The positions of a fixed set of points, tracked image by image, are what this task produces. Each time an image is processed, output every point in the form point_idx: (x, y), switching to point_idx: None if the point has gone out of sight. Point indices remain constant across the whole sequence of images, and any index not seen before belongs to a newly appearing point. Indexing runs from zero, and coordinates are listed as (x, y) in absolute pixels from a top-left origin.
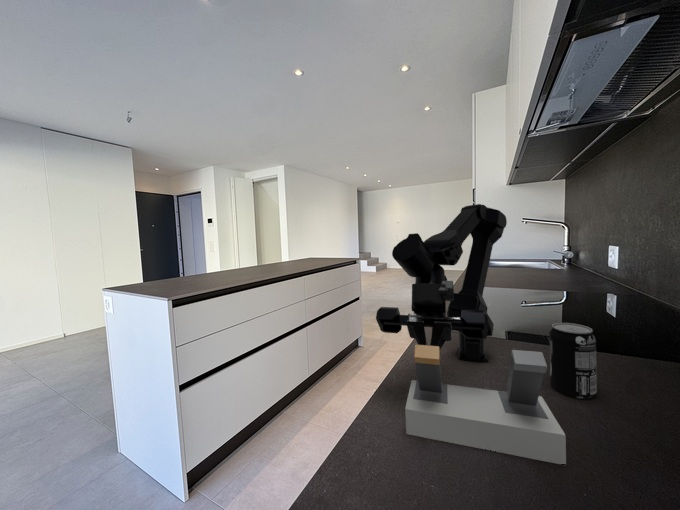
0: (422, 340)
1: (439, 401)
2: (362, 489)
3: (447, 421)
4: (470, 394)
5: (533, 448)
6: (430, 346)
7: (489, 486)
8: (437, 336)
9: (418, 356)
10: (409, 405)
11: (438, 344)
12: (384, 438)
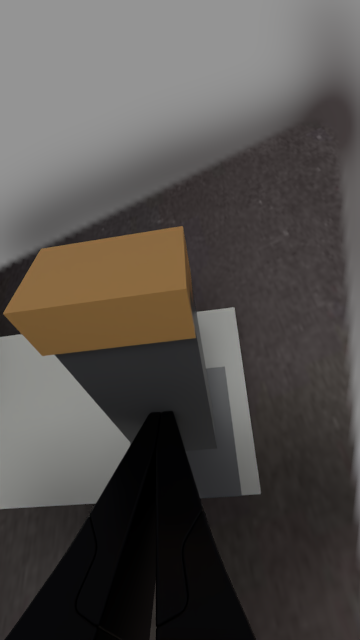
0: (185, 569)
1: None
2: (261, 166)
3: None
4: (65, 456)
5: None
6: (67, 300)
7: None
8: (37, 636)
9: (157, 231)
10: (226, 327)
11: (69, 561)
12: (271, 287)
